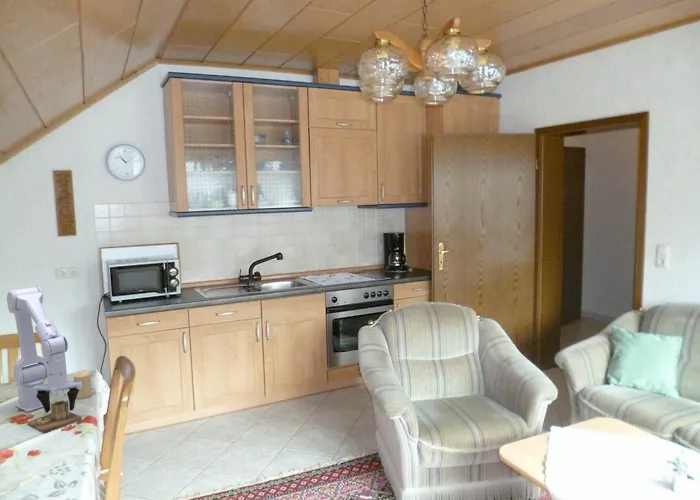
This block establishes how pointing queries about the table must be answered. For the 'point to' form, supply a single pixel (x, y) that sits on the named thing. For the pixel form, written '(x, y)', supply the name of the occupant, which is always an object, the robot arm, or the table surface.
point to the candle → (83, 384)
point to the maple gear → (60, 410)
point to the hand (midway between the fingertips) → (60, 410)
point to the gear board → (52, 422)
